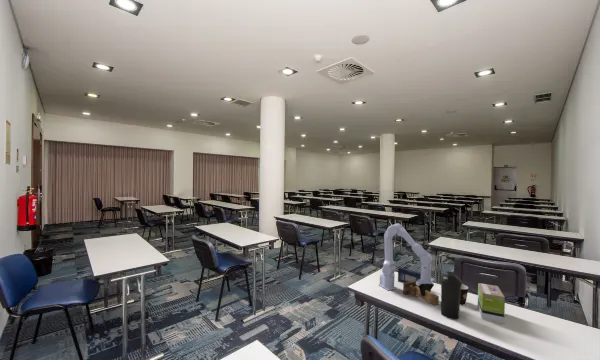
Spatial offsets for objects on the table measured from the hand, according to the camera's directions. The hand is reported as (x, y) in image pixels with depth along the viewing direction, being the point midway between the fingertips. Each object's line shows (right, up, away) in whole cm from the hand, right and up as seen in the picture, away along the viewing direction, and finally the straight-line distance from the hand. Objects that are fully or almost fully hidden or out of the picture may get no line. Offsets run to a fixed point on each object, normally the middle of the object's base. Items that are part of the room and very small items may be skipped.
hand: (425, 294), depth 162 cm
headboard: (-3, -2, +7) cm, 8 cm away
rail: (0, -2, 0) cm, 2 cm away
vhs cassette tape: (0, -2, +20) cm, 20 cm away
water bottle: (+5, -3, -18) cm, 19 cm away
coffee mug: (+18, -3, -3) cm, 18 cm away
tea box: (+28, -4, -18) cm, 33 cm away
